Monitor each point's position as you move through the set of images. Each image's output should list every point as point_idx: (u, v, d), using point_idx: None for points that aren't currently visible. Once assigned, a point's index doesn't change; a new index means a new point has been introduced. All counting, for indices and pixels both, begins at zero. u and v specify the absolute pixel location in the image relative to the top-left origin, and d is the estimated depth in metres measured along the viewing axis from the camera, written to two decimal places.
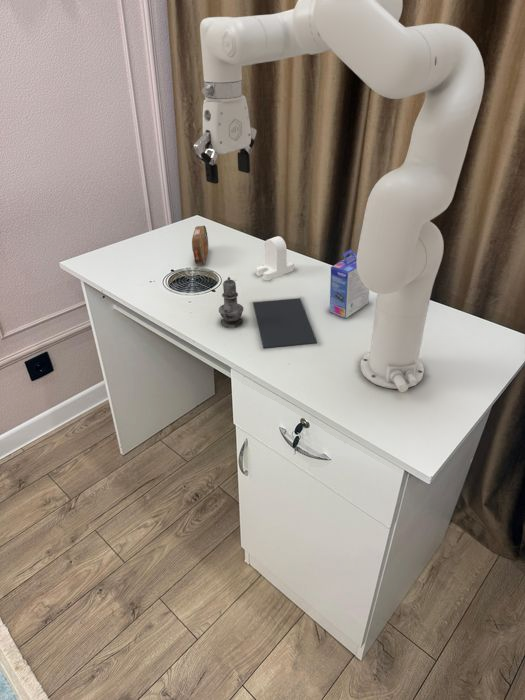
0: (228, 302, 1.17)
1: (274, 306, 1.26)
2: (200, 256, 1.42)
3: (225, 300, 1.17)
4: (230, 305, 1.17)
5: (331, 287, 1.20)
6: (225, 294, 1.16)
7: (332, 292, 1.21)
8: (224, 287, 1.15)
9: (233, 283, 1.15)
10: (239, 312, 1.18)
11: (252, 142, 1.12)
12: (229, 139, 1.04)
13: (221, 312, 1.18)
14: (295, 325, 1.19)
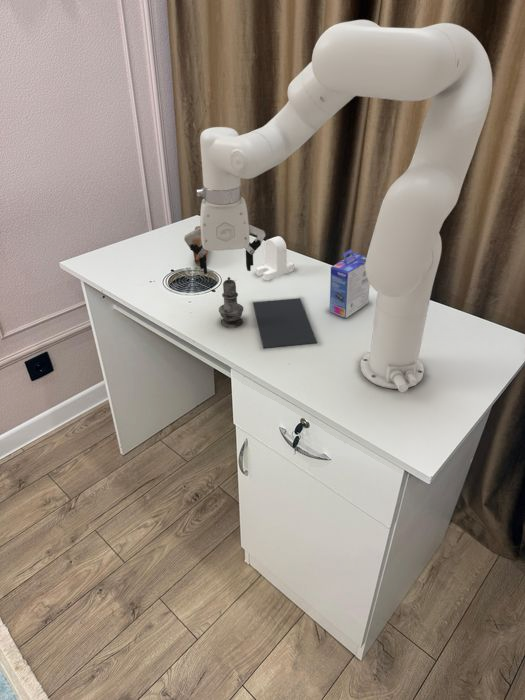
0: (228, 302, 1.17)
1: (274, 306, 1.26)
2: None
3: (225, 300, 1.17)
4: (230, 305, 1.17)
5: (331, 287, 1.20)
6: (225, 294, 1.16)
7: (332, 292, 1.21)
8: (224, 287, 1.15)
9: (233, 283, 1.15)
10: (239, 312, 1.18)
11: (257, 244, 1.10)
12: (217, 239, 1.06)
13: (221, 312, 1.18)
14: (295, 325, 1.19)
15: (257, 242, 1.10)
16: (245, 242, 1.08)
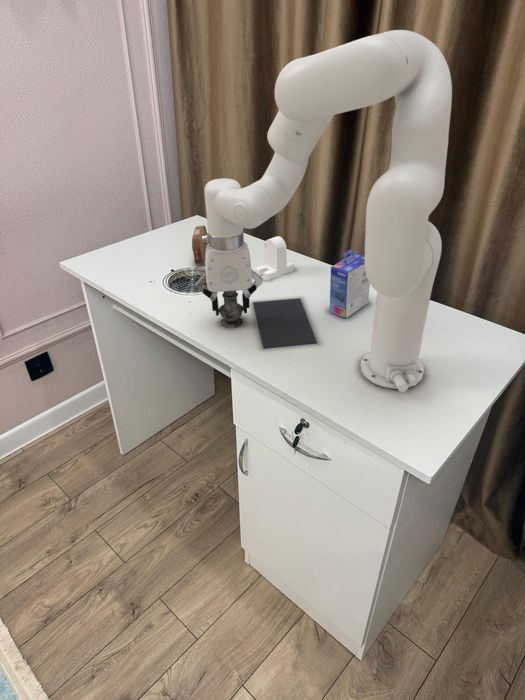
0: (228, 302, 1.17)
1: (274, 306, 1.26)
2: (200, 256, 1.42)
3: (225, 300, 1.17)
4: (230, 305, 1.17)
5: (331, 287, 1.20)
6: (225, 294, 1.16)
7: (332, 292, 1.21)
8: None
9: None
10: (239, 312, 1.18)
11: (253, 288, 1.16)
12: (221, 281, 1.12)
13: (221, 312, 1.18)
14: (295, 325, 1.19)
15: (253, 287, 1.16)
16: (248, 283, 1.13)
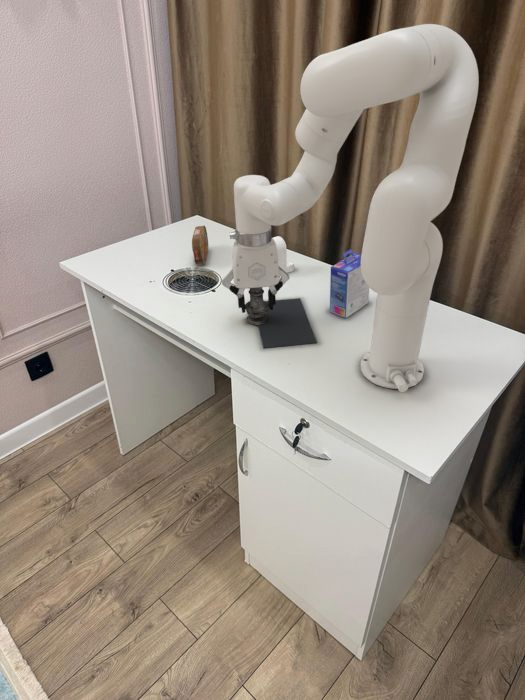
0: (255, 298, 1.17)
1: (274, 306, 1.26)
2: (200, 256, 1.42)
3: (251, 297, 1.17)
4: (256, 301, 1.17)
5: (331, 287, 1.20)
6: (252, 291, 1.16)
7: (332, 292, 1.21)
8: None
9: None
10: (265, 309, 1.18)
11: (279, 285, 1.16)
12: (248, 278, 1.12)
13: (247, 309, 1.18)
14: (295, 325, 1.19)
15: (279, 283, 1.16)
16: (275, 280, 1.13)
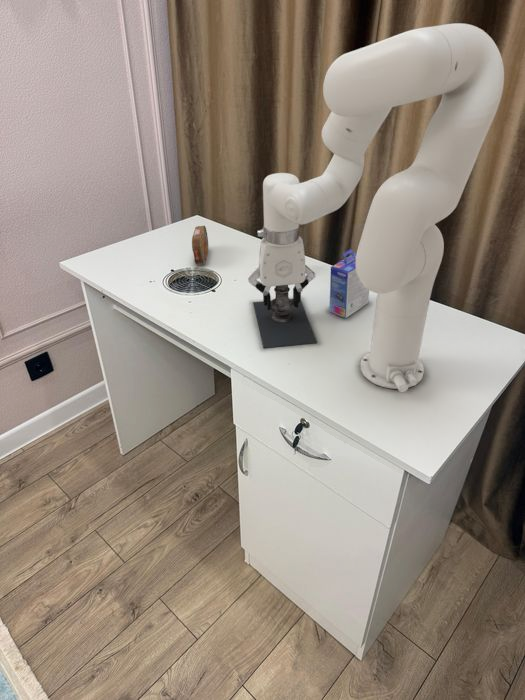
0: (280, 296, 1.17)
1: None
2: (200, 256, 1.42)
3: (277, 294, 1.18)
4: (282, 299, 1.18)
5: (331, 287, 1.20)
6: (277, 288, 1.17)
7: (332, 292, 1.21)
8: None
9: None
10: (291, 306, 1.19)
11: (305, 283, 1.17)
12: (275, 276, 1.13)
13: (273, 306, 1.19)
14: (295, 325, 1.19)
15: (305, 281, 1.17)
16: (301, 278, 1.14)
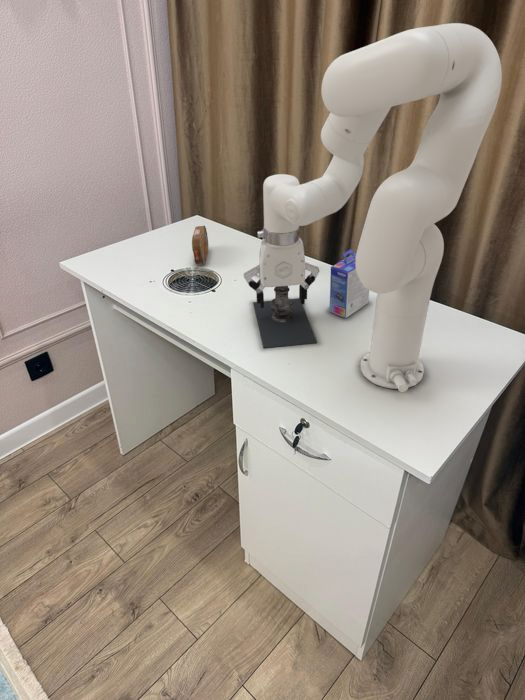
0: (280, 296, 1.17)
1: None
2: (200, 256, 1.42)
3: (276, 294, 1.18)
4: (282, 299, 1.18)
5: (331, 287, 1.20)
6: (277, 289, 1.17)
7: (332, 292, 1.21)
8: None
9: None
10: (290, 306, 1.19)
11: (312, 279, 1.17)
12: (275, 276, 1.13)
13: (272, 306, 1.19)
14: (295, 325, 1.19)
15: (311, 278, 1.16)
16: (301, 279, 1.14)
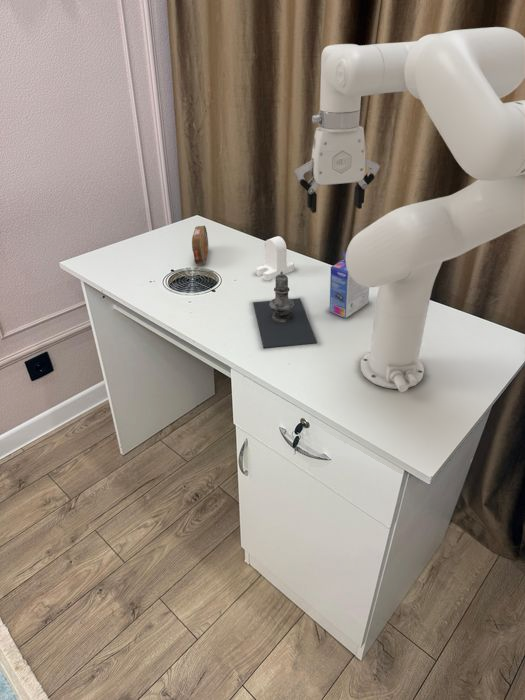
0: (280, 296, 1.17)
1: None
2: (200, 256, 1.42)
3: (276, 294, 1.18)
4: (282, 299, 1.18)
5: (331, 287, 1.20)
6: (277, 289, 1.17)
7: (332, 292, 1.21)
8: (277, 282, 1.16)
9: (286, 278, 1.16)
10: (290, 306, 1.19)
11: (371, 177, 1.03)
12: (332, 171, 0.99)
13: (272, 306, 1.19)
14: (295, 325, 1.19)
15: (370, 175, 1.03)
16: (361, 174, 1.00)
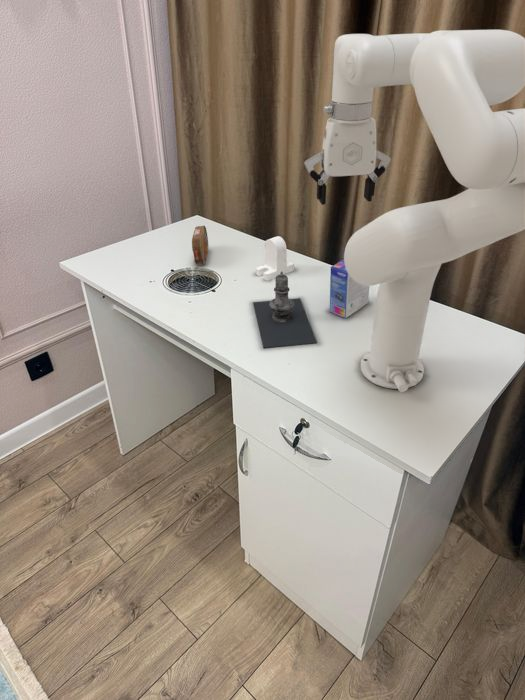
0: (280, 296, 1.17)
1: None
2: (200, 256, 1.42)
3: (276, 294, 1.18)
4: (282, 299, 1.18)
5: (331, 287, 1.20)
6: (277, 289, 1.17)
7: (332, 292, 1.21)
8: (277, 282, 1.16)
9: (286, 278, 1.16)
10: (290, 306, 1.19)
11: (381, 170, 1.02)
12: (342, 162, 0.98)
13: (272, 306, 1.19)
14: (295, 325, 1.19)
15: (381, 168, 1.02)
16: (371, 166, 1.00)
